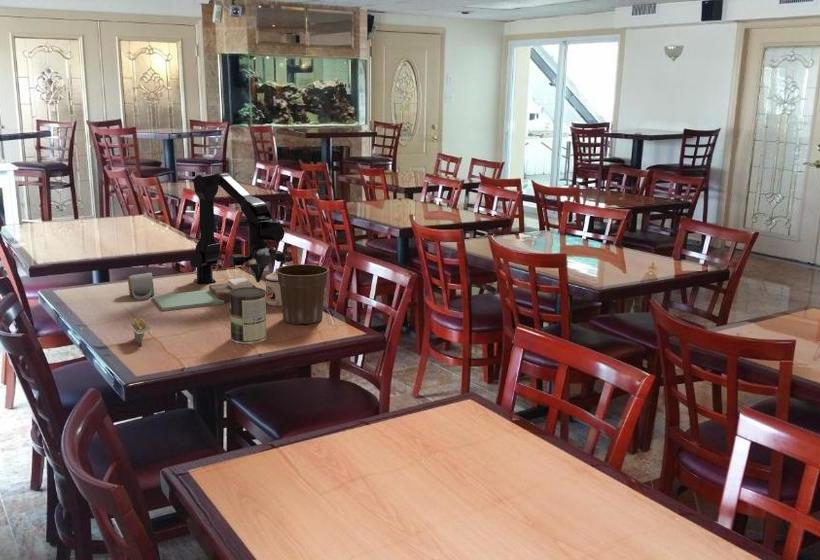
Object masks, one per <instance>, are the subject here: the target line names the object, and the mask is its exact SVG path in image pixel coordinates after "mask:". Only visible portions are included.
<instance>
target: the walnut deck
mask: <svg viewBox="0 0 820 560" xmlns="http://www.w3.org/2000/svg"><path fill="white" fill-rule="evenodd" d="M208 286H209V287H208V288H209V289H208V290H209V291H210V292H211V293H212V294H214V295H215V296H216V297H217V298H218V299H219V300H224V303H230V299H229V291H231V290H233V288H231V287H230V286H229V285H228V282H227V283H219V284H210V285H208ZM252 287H256V288H258V286H255V285H254V284H253V283H252Z"/></svg>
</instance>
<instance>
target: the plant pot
mask: <svg viewBox="0 0 820 560" xmlns="http://www.w3.org/2000/svg"><path fill="white" fill-rule="evenodd" d="M275 271H276V273H277V274H278V282H279V284H280V291H281V301H282V306H281V309H282V310H281V311H282V320H283V321H284V322H285V323H286V324H287V323H288V324H291V325H292V324H293V325H300V324H303V325H310V324H311V325H313V324H317V323H319V322H321V321H322V320H323V314H324V313H323V312H324V300H325V292H326V284H327V280H328V279H327V278H328V274H329V271H330V269H329V268H328V267H326V266H323V265H319V264H318V265H317V264H309V263H308V264H307V263H305V264H304V263H300V264H288V265H283V266H279V267H277V268H276V269H275Z"/></svg>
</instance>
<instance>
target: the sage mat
mask: <svg viewBox="0 0 820 560" xmlns="http://www.w3.org/2000/svg"><path fill="white" fill-rule="evenodd" d="M151 296H152V300H153V302H155V303H157V304H156V305H157V306H158V307H159V309H161V311H162V312H164V311H173V310H181V309H183V310H184V309H190V308H198V307H207V305H208V306H215V305H224V304H225V302H224V300H219V299H218V298H217V297H216V296H215V295H214V294H212V293H211V292H210V291H209V289H203V290H196V291H195V290H194V291H186V292H176V293H169V294H167V293H166V294H160V295H159V294H158V295H151Z"/></svg>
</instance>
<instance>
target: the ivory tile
mask: <svg viewBox="0 0 820 560" xmlns="http://www.w3.org/2000/svg"><path fill="white" fill-rule="evenodd" d="M227 283H228V285H229V286H230V287H231V288H233V289H236V288H243V287H252V284H253V282H252V281H250V280H249V279H248V278H246V277H240V278H232V279H231V278H230V279H227Z"/></svg>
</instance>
